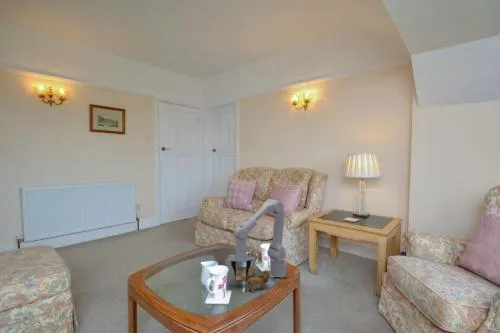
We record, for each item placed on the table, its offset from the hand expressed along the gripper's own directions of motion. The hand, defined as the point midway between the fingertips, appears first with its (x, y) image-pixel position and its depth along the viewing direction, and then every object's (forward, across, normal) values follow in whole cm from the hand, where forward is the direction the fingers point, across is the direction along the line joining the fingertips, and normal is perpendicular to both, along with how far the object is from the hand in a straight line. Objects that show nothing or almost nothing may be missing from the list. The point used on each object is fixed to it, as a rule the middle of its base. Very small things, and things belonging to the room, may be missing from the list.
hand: (241, 275), depth 139 cm
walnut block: (+6, -2, -11) cm, 13 cm away
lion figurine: (+6, -8, +4) cm, 11 cm away
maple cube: (+2, 0, 0) cm, 2 cm away
